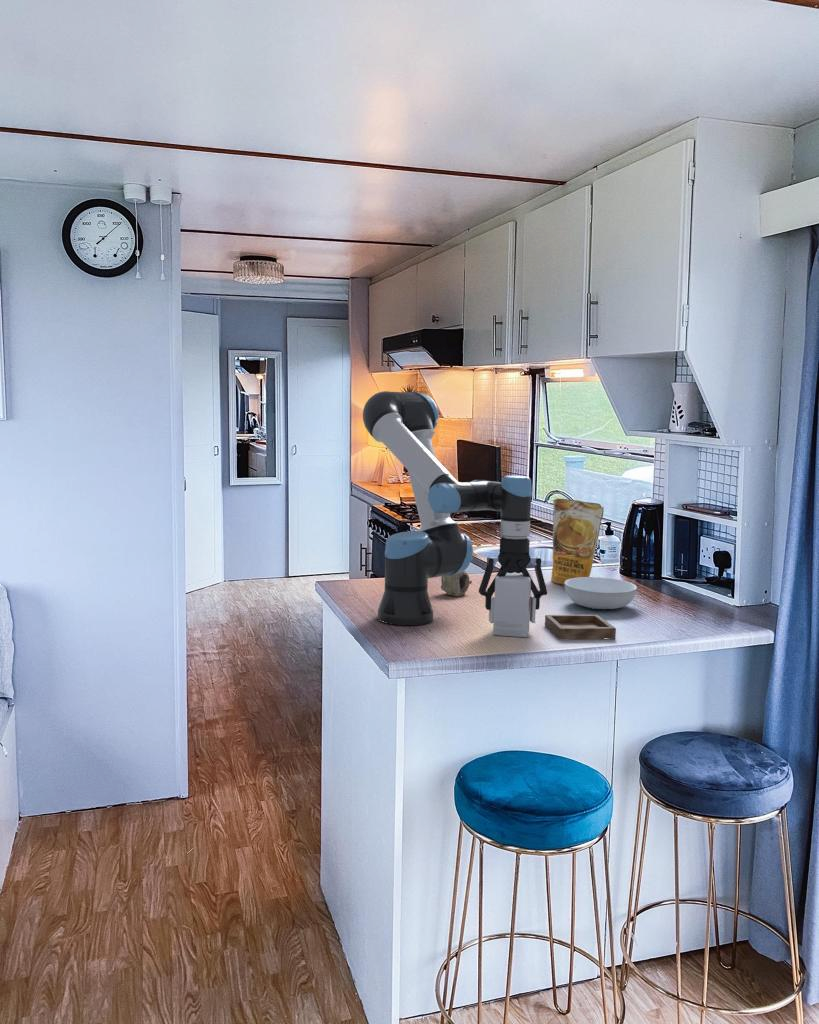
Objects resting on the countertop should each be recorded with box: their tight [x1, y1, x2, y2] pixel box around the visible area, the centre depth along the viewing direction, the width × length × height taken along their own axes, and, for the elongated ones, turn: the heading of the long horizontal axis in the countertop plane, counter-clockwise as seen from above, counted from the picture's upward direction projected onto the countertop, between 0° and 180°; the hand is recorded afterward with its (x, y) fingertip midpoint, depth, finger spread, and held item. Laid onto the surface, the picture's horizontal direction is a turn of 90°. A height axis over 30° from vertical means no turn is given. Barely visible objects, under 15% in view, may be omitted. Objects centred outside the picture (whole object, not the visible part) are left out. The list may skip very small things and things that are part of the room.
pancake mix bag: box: [550, 498, 604, 586], centre depth 284 cm, size 7×19×28 cm, turn 39°
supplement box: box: [492, 572, 532, 638], centre depth 222 cm, size 9×9×15 cm
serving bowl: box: [564, 576, 638, 610], centre depth 254 cm, size 21×21×7 cm
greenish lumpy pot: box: [440, 570, 473, 597], centre depth 267 cm, size 9×8×10 cm
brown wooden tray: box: [544, 614, 617, 640], centre depth 225 cm, size 14×14×3 cm
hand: (511, 621), depth 223 cm, fingers closed on supplement box, 10 cm apart
